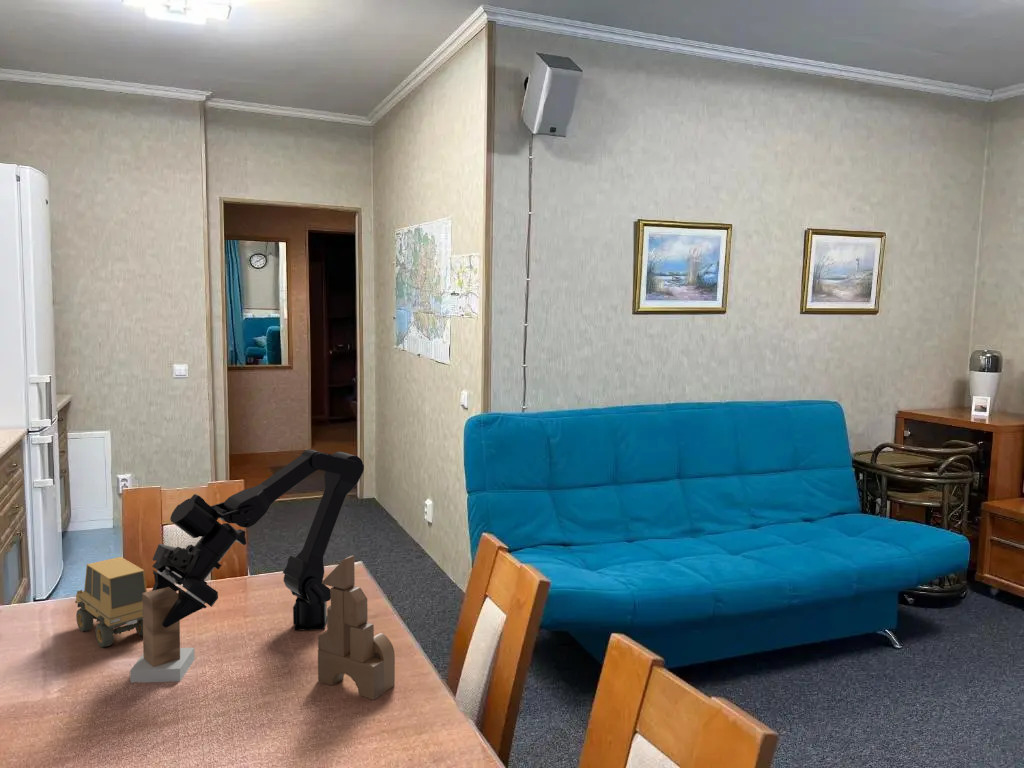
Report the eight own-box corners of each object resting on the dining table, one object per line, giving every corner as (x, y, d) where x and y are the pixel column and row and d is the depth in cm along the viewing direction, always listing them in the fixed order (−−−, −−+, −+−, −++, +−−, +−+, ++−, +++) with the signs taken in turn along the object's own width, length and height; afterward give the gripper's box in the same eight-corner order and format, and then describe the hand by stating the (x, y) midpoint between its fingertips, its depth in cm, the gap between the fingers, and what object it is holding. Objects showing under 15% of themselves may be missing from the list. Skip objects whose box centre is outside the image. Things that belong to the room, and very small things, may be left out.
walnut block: (169, 650, 155) (168, 586, 154) (180, 659, 152) (179, 594, 150) (143, 657, 152) (142, 593, 150) (153, 667, 148) (152, 600, 147)
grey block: (194, 662, 157) (194, 647, 157) (180, 683, 148) (180, 668, 148) (147, 663, 156) (147, 649, 156) (130, 685, 147) (130, 670, 147)
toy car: (121, 613, 179) (119, 549, 178) (158, 638, 166) (155, 570, 165) (72, 626, 172) (69, 560, 170) (106, 654, 159) (103, 582, 157)
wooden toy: (397, 685, 148) (397, 556, 145) (373, 700, 142) (373, 567, 139) (335, 665, 156) (334, 542, 153) (311, 678, 150) (309, 551, 147)
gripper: (161, 518, 159) (104, 584, 152) (200, 539, 145) (139, 612, 139) (201, 547, 165) (148, 612, 158) (241, 570, 152) (186, 642, 145)
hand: (154, 619), depth 150 cm, fingers open, 9 cm apart
